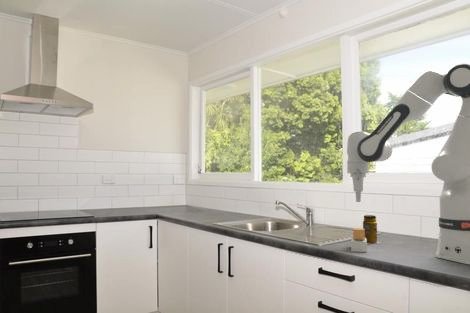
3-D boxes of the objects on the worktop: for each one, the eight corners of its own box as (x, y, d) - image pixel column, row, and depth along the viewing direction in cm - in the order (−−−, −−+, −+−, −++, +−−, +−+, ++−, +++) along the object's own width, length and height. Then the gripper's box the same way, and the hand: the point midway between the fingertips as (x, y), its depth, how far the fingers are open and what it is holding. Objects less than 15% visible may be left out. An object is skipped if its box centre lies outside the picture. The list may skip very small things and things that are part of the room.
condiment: (381, 242, 168) (381, 216, 169) (367, 244, 165) (366, 217, 165) (369, 240, 175) (369, 214, 175) (355, 241, 171) (355, 215, 172)
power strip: (351, 246, 159) (351, 236, 160) (366, 247, 158) (366, 237, 158) (351, 251, 150) (351, 240, 150) (367, 252, 148) (366, 241, 148)
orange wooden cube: (353, 237, 156) (353, 228, 157) (364, 238, 155) (364, 228, 155) (353, 239, 153) (353, 229, 153) (364, 239, 151) (364, 229, 151)
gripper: (366, 169, 151) (366, 203, 150) (365, 169, 170) (365, 199, 170) (349, 169, 153) (350, 203, 152) (350, 169, 172) (351, 199, 172)
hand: (358, 201), depth 161 cm, fingers open, 6 cm apart
